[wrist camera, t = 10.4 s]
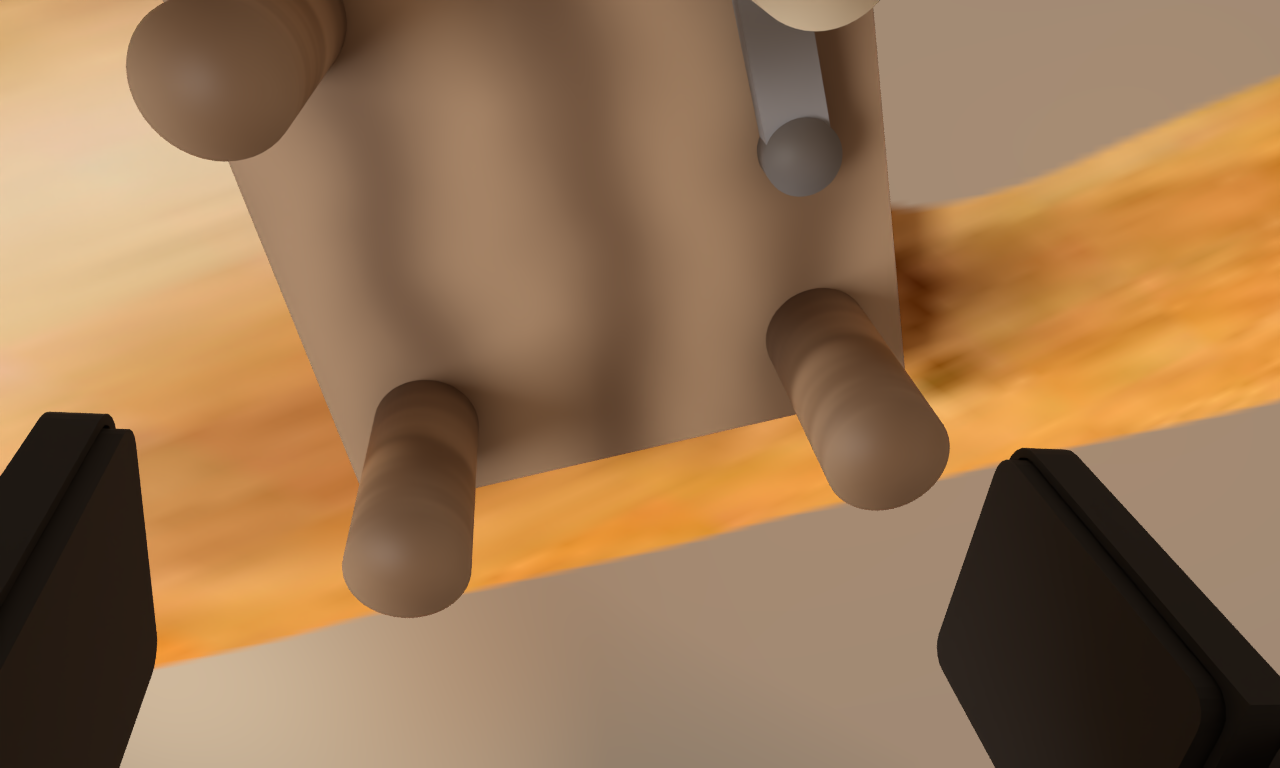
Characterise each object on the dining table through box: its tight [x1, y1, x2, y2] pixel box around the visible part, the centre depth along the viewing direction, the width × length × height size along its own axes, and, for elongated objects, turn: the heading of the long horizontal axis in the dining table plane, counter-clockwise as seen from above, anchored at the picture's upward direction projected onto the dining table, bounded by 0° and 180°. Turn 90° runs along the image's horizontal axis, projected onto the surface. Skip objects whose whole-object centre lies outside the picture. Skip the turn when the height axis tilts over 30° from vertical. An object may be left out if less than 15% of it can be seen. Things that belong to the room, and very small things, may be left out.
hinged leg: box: [732, 0, 880, 197], centre depth 28 cm, size 10×4×8 cm, turn 14°
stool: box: [126, 0, 950, 618], centre depth 31 cm, size 20×20×10 cm
